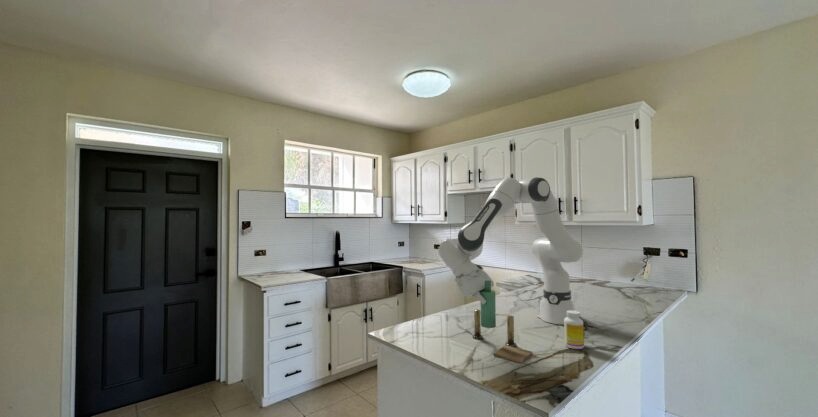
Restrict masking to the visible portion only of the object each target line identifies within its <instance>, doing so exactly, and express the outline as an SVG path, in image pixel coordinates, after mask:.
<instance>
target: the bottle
mask: <svg viewBox="0 0 818 417" xmlns="http://www.w3.org/2000/svg"><path fill="white" fill-rule="evenodd" d="M480 295H481V296H482V297H483V298H486V300H487V302H486V303H485V304H482V303H481V302H480V326H481V327H482V328H486V329H494V328H496V327H497V326H496V325H497V320H496V318H497V316H496V314H497V313H496V312H497V311H496V310H497V309H496V308H497V307H496V305H497V304H496V290H492V288H491V281H489V280H485V290H481V291H480Z"/></svg>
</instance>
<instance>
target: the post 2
mask: <svg viewBox="0 0 818 417" xmlns="http://www.w3.org/2000/svg"><path fill="white" fill-rule="evenodd" d="M514 318H515V317H514V315H507V316H506V322H507V323H506V324H507V325H506V326H507V327H506V328H507V329H506V330H507V333H506V334H507V335H506V337H507V338H506V339H507V342H505V345H507V346H511V347H515V348H517V343H516V342H515V320H514ZM505 345H504V346H505Z"/></svg>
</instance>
